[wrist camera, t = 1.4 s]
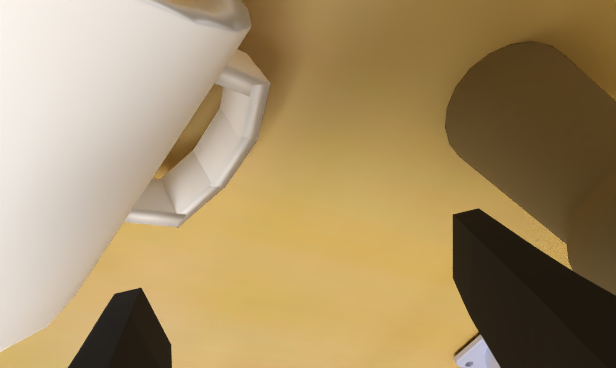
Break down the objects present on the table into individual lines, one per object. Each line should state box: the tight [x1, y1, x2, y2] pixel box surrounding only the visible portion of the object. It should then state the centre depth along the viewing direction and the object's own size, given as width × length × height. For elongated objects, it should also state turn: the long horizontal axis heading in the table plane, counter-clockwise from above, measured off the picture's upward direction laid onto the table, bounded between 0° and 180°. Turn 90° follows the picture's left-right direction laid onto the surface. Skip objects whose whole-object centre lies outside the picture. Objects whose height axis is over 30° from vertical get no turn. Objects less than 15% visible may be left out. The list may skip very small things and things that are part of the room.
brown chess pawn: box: [445, 42, 616, 295], centre depth 18 cm, size 6×6×11 cm
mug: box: [0, 0, 271, 352], centre depth 14 cm, size 14×10×11 cm
